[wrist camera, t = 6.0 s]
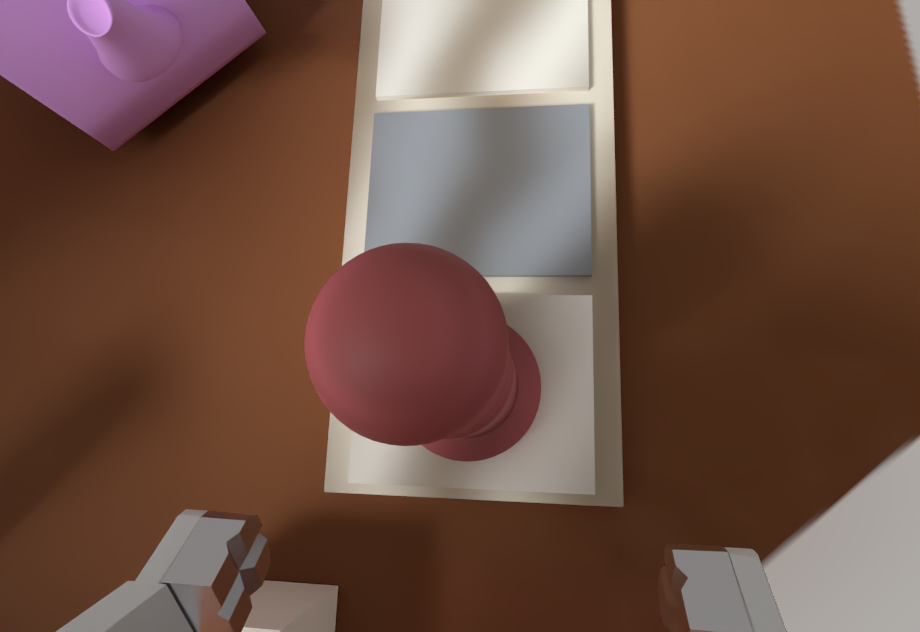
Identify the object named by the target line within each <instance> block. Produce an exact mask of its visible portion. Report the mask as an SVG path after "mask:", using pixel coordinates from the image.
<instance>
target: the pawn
mask: <svg viewBox="0 0 920 632" xmlns="http://www.w3.org/2000/svg"><path fill="white" fill-rule="evenodd" d="M305 358H306V364H307V368H308V373H309V375H310V378H311V381H312V383H313V386H314V388H315V390H316V392H317V394H318V396H319V398H320V399H321V401H322V402H323V404H324V405H325V406H326V408H327V409H328V410H329V411H330V412H331V413H332V414H333V415H334V416H335V417H336V418H337V419H338V420H339V421H340V422H341V423H343V424H344V425H345V426H346V427H348V428H349V429H350V430H352V431H354V432H356V433H357V434H359V435H361V436H363V437H365V438H368V439H370V440H373V441H376V442H380V443H384V444H389V445H397V446H418V445H422V446H424V447H425V448H426V449H427V450H429V451H431V452H433V453H434V454H436V455H439V456H441V457H444V458H447V459H451V460H455V461H463V462H470V461H480V460H485V459H488V458H492V457H494V456H497V455H499V454H501V453H503V452H505V451H506V450H508V449H509V448H511V447H512V446H514V445H515V444H516V443H517V442H518V441H520V439H521V438H522V437H523V436H524V435H525V434H526V432H527V431H528V430H529V428H530V427H531V425H532V423H533V421H534V419H535V417H536V414H537V411H538V408H539V403H540V398H541V377H540V372H539V367H538V364H537V361H536V359H535V356H534V354H533V352H532V350H531V349H530V347H529V346H528V344H527V343H526V342H525V340H524V339H523V338H522V337H521V336H520V335H519V334H518V333H517V332H516V331H515V330H514V329H512V328H511V327H509V326H508V325H507V323H506V318H505V315H504V312H503V309H502V306H501V304H500V302H499V300H498V298H497V296H496V294H495V292H494V291H493V289H492V288H491V286H490V285H489V283H488V282H487V281H486V279H485V278H484V277H483V276H482V275H481V274H480V273H479V272H478V271H477V270H476V269H475V268H474V267H473V266H471V265H470V264H469V263H468V262H466V261H464V260H463V259H461V258H460V257H458V256H457V255H455V254H453V253H451V252H449V251H446V250H444V249H441V248H438V247H435V246H432V245H426V244H421V243H393V244H388V245H383V246H379V247H376V248H373V249H370V250H368V251H365V252H363V253H361V254H359V255H357V256H356V257H354V258H353V259H351V260H349V261H348V262H346V263H345V264H344V265H343V266H342V267H340V268H339V269H338V270H337V271H336V272H335V273H334V274H333V275H332V276H331V277H330V278H329V279H328V281H327V282H326V283H325V285H324V286H323V287H322V289H321V290H320V292H319V294H318V296H317V297H316V299H315V301H314V304H313V306H312V308H311V311H310V314H309V317H308V321H307V325H306V332H305Z"/></svg>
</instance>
